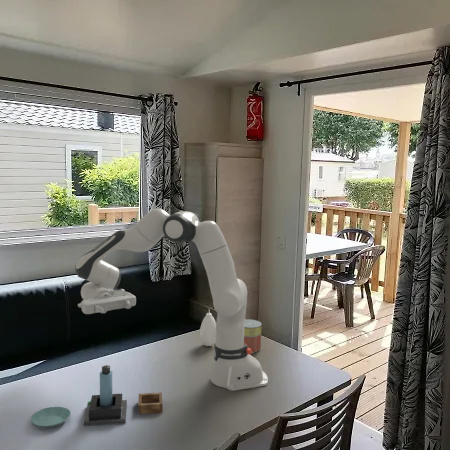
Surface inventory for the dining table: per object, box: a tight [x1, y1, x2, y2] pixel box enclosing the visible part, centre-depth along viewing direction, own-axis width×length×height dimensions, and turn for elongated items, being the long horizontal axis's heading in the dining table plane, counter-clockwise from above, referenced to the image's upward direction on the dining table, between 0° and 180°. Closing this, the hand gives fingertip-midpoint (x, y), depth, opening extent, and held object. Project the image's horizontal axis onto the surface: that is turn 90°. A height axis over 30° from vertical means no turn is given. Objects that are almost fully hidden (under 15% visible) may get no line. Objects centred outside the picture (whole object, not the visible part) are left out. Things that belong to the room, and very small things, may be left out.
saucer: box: [30, 406, 71, 429], centre depth 147 cm, size 12×12×2 cm
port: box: [83, 393, 128, 427], centre depth 152 cm, size 13×12×4 cm
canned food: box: [244, 318, 263, 353], centre depth 211 cm, size 11×11×12 cm
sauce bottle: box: [199, 308, 217, 347], centre depth 212 cm, size 8×8×18 cm
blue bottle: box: [99, 364, 113, 407], centre depth 151 cm, size 4×4×15 cm
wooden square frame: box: [137, 392, 164, 415], centre depth 157 cm, size 8×8×3 cm
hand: (116, 308), depth 167 cm, fingers open, 8 cm apart
